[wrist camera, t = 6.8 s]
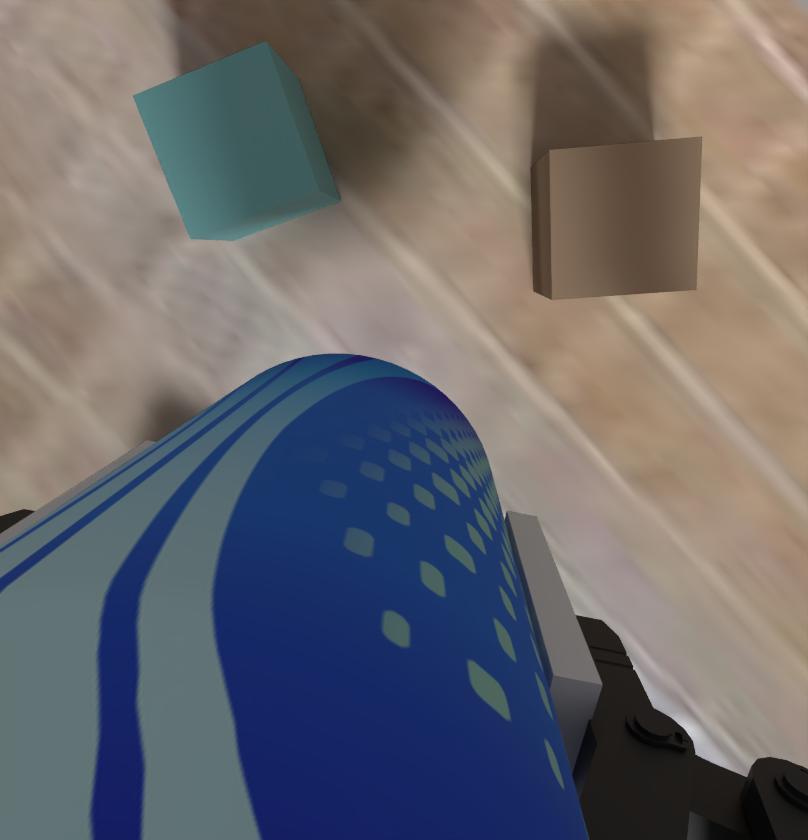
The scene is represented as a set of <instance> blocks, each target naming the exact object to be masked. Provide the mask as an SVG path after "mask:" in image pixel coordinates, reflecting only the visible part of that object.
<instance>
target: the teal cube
mask: <svg viewBox="0 0 808 840" xmlns="http://www.w3.org/2000/svg"><path fill="white" fill-rule="evenodd" d="M133 98H134V100H135V103H136V105H137V108H138V110H139V113H140V115H141V118H142V120H143V122H144V125H145V127H146V130H147V132H148V135H149V137H150V140H151V142H152V145H153V147H154V150H155V152H156V155H157V157H158V160H159V162H160V164H161V167H162V169H163V172H164V174H165V177H166V179H167V182H168V184H169V187H170V189H171V192H172V194H173V197H174V199H175V202H176V204H177V206H178V209H179V211H180V214H181V216H182V219H183V221H184V224H185V226H186V229H187V231H188V234H189V236H190V239H203V240H227V241H234V240H237V239H240V238H242V237H245V236H248V235H250V234H253V233H256V232H258V231H261V230H264V229H266V228H269V227H272V226H275V225H277V224H280V223H283V222H285V221H288V220H291V219H293V218H296V217H299V216H301V215H304V214H307V213H310V212H312V211H315V210H318V209H320V208H323V207H326V206H328V205H331V204H334V203H336V202H339V201H341V200H340V197H339V194H338V192H337V189H336V186H335V183H334V180H333V177H332V174H331V171H330V168H329V166H328V163H327V160H326V157H325V154H324V151H323V148H322V145H321V143H320V140H319V137H318V134H317V131H316V128H315V125H314V122H313V119H312V117H311V114H310V111H309V108H308V105H307V102H306V99H305V96H304V94H303V91H302V88H301V85H300V82H299V79H298V77H297V76H296V75H295V74H294V73H293V72H292V70H291V69H290V68H289V67H288V66H287V65H286V63H285V62H284V61H283V60H282V59H281V57H280V56H279V55H278V54H277V53H276V52H275V50H274V49H273V48H272V47H271V46H270V44H269V43H268V42H267V41H264V42H261V43H259V44H257V45H254V46H252V47H249V48H247V49H244V50H242V51H240V52H237V53H235V54H232V55H230V56H228V57H225V58H223V59H220V60H218V61H216V62H213V63H211V64H208V65H206V66H203V67H201V68H199V69H196V70H194V71H191V72H189V73H187V74H184V75H182V76H179V77H177V78H175V79H172V80H170V81H167V82H165V83H162V84H160V85H158V86H155V87H153V88H150V89H148V90H146V91H143V92H141V93H138V94H136V95H134V96H133Z"/></svg>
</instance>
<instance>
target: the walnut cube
mask: <svg viewBox="0 0 808 840" xmlns="http://www.w3.org/2000/svg"><path fill="white" fill-rule="evenodd" d="M701 154H702V137H692V138H680V139H669V140H657V141H646V142H635V143H623V144H612V145H600V146H589V147H577V148H566V149H554V150H549V151H548V152H547V153H546V154H545V155H544V156H543V157H542V158H541V159H539V160H538V161H537V162H536V163H535V164H534V165H533V166H532V167H531V203H532V246H533V288H534V292H536V293H538V294H540V295H543V296H545V297H547V298H549V299H551V300H557V299H571V298H585V297H600V296H614V295H628V294H643V293H657V292H671V291H686V290H696V286H697V259H698V233H699V207H700V181H701Z"/></svg>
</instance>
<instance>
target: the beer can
mask: <svg viewBox="0 0 808 840" xmlns="http://www.w3.org/2000/svg"><path fill="white" fill-rule="evenodd" d="M0 840H589V837H588V833H587V829H586V825H585V822H584V818H583V814H582V810H581V806H580V803H579V799H578V795H577V791H576V788H575V784H574V780H573V776H572V773H571V769H570V765H569V761H568V758H567V754H566V750H565V746H564V743H563V739H562V735H561V731H560V728H559V724H558V720H557V716H556V712H555V709H554V705H553V701H552V697H551V694H550V690H549V686H548V682H547V679H546V675H545V671H544V667H543V664H542V660H541V656H540V652H539V649H538V645H537V641H536V637H535V634H534V630H533V626H532V622H531V618H530V615H529V611H528V607H527V603H526V600H525V596H524V592H523V588H522V585H521V581H520V577H519V573H518V570H517V566H516V562H515V558H514V555H513V551H512V547H511V543H510V540H509V536H508V532H507V528H506V525H505V521H504V517H503V513H502V509H501V506H500V502H499V498H498V494H497V491H496V487H495V483H494V479H493V476H492V472H491V468H490V465H489V461H488V458H487V456H486V453H485V451H484V448H483V446H482V443H481V442H480V440H479V438H478V436H477V434H476V432H475V430H474V429H473V427H472V426H471V424H470V423H469V421H468V420H467V418H466V417H465V416H464V415H463V413H462V412H461V411H460V410H459V409H458V407H457V406H456V405H455V404H454V403H453V402H452V401H451V400H450V399H449V398H448V397H447V396H446V395H445V394H443V393H442V392H441V391H440V390H438V389H437V388H436V387H435V386H434V385H432V384H431V383H429V382H428V381H426V380H425V379H423V378H422V377H420V376H418V375H416V374H414V373H412V372H411V371H409V370H407V369H405V368H402V367H400V366H397V365H395V364H393V363H389V362H386V361H383V360H380V359H376V358H371V357H366V356H362V355H352V354H321V355H312V356H307V357H302V358H297V359H294V360H291V361H287V362H284V363H282V364H279V365H277V366H274V367H272V368H270V369H268V370H266V371H264V372H262V373H260V374H258V375H257V376H255V377H254V378H252V379H251V380H249V381H248V382H246V383H245V384H243V385H241V386H240V387H238V388H237V389H235V390H234V391H232V392H231V393H229V394H228V395H226V396H225V397H223V398H222V399H220V400H219V401H217V402H216V403H214V404H213V405H211V406H210V407H208V408H207V409H205V410H204V411H202V412H201V413H199V414H198V415H196V416H195V417H193V418H192V419H190V420H189V421H187V422H186V423H184V424H183V425H181V426H180V427H178V428H177V429H175V430H174V431H172V432H171V433H169V434H168V435H166V436H165V437H163V438H162V439H160V440H159V441H157V442H156V443H154V444H153V445H151V446H150V447H148V448H147V449H145V450H144V451H142V452H141V453H139V454H138V455H136V456H135V457H133V458H132V459H130V460H129V461H127V462H126V463H124V464H123V465H121V466H120V467H118V468H117V469H115V470H114V471H112V472H111V473H109V474H108V475H106V476H104V477H103V478H101V479H100V480H98V481H97V482H95V483H94V484H92V485H91V486H89V487H88V488H86V489H85V490H83V491H82V492H80V493H79V494H77V495H76V496H74V497H73V498H71V499H70V500H68V501H67V502H65V503H64V504H62V505H61V506H59V507H58V508H56V509H55V510H53V511H52V512H50V513H49V514H47V515H46V516H44V517H43V518H41V519H40V520H38V521H37V522H35V523H34V524H32V525H31V526H29V527H28V528H26V529H25V530H23V531H22V532H20V533H19V534H17V535H16V536H14V537H13V538H11V539H10V540H8V541H7V542H5V543H4V544H2V545H1V546H0Z"/></svg>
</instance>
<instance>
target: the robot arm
mask: <svg viewBox="0 0 808 840" xmlns="http://www.w3.org/2000/svg"><path fill="white" fill-rule="evenodd" d="M154 443H156V442H153V441H148V440H147V441H145V442H143V443H142V444H140V445H139V446H137V447H136V448H134V449H132V450H131V451H129V452H128V453H126V454H125V455H123V456H121V457H120V458H118V459H117V460H115V461H114V462H112V463H110V464H109V465H107V466H106V467H104V468H103V469H101V470H99V471H98V472H96V473H95V474H93V475H92V476H90V477H88V478H87V479H85V480H84V481H82V482H81V483H79V484H77V485H76V486H74V487H73V488H71V489H70V490H68V491H66V492H65V493H63V494H62V495H60V496H59V497H57V498H56V499H54V500H52V501H51V502H49V503H48V504H46V505H45V506H43V507H41V508H40V509H38V510H37V511H31V510H26V509H23V510H19V511H16V512H13V513H9V514H6V515H3V516H0V546H1V545H2V544H4V543H5V542H7V541H8V540H10V539H11V538H13V537H14V536H16V535H17V534H19V533H20V532H22V531H23V530H25V529H26V528H28V527H29V526H31V525H32V524H34V523H35V522H37V521H38V520H40V519H41V518H43V517H44V516H46V515H47V514H49V513H50V512H52V511H53V510H55V509H56V508H58V507H59V506H61V505H62V504H64V503H65V502H67V501H68V500H70V499H71V498H73V497H74V496H76V495H77V494H79V493H80V492H82V491H83V490H85V489H86V488H88V487H89V486H91V485H92V484H94V483H95V482H97V481H98V480H100V479H101V478H103V477H104V476H106V475H108V474H109V473H111V472H112V471H114V470H115V469H117V468H118V467H120V466H121V465H123V464H124V463H126V462H127V461H129V460H130V459H132V458H133V457H135V456H136V455H138V454H139V453H141V452H142V451H144V450H145V449H147V448H148V447H150V446H151V445H153V444H154ZM505 525H506V528H507V532H508V536H509V540H510V543H511V547H512V551H513V555H514V558H515V562H516V566H517V570H518V573H519V577H520V581H521V585H522V588H523V592H524V596H525V600H526V603H527V607H528V611H529V615H530V618H531V622H532V626H533V630H534V634H535V637H536V641H537V645H538V649H539V652H540V656H541V660H542V664H543V667H544V671H545V675H546V679H547V682H548V686H549V690H550V694H551V697H552V701H553V705H554V709H555V712H556V716H557V720H558V724H559V728H560V731H561V735H562V739H563V743H564V746H565V750H566V754H567V758H568V761H569V765H570V769H571V773H572V776H573V780H574V784H575V788H576V791H577V795H578V799H579V803H580V806H581V810H582V814H583V818H584V822H585V825H586V829H587V833H588V837H589V840H808V769H807V768H805V767H803V766H800V765H797V764H794V763H792V762H789V761H787V760H783V759H778V758H772V757H766V758H760V759H757V760H756V761H755V763H754V764H753V765H752V766H751V769H750V771H749V774H748V777H745V776H742V775H740V774H738V773H735V772H733V771H730V770H728V769H725V768H723V767H721V766H718V765H716V764H713V763H711V762H709V761H707V760H705V759H703V758H701V757H699V756H697V755H695V748H694V744H693V741H692V739H691V738H690V736H689V735H688V734H687V732H686V731H685V729H684V728H683V727H681V726H680V725H679V724H678V723H677V722H675V721H674V720H673V719H672V718H671V717H669V716H667V715H665V714H664V713H662V712H660V711H658V710H656V709H654V708H653V706H652V704H651V702H650V700H649V698H648V696H647V694H646V692H645V690H644V688H643V686H642V683H641V681H640V679H639V677H638V675H637V673H636V671H635V670H633V665H632V663H631V661H630V659H629V657H628V656H626V654H627V653H626V650H625V648H624V646H623V644H622V642H621V640H620V638H619V636H618V635H617V634H616V633H615V632H614V631H613V630H612V629H610V628H609V627H608V626H607V625H606V624H605V623H604V622H603V621H602V620H598V619H593V618H588V617H583V616H578V615H575V613H574V610H573V608H572V605H571V603H570V600H569V598H568V595H567V592H566V590H565V587H564V585H563V582H562V580H561V577H560V575H559V572H558V570H557V567H556V564H555V562H554V559H553V557H552V554H551V552H550V549H549V547H548V544H547V542H546V539H545V536H544V534H543V531H542V529H541V526H540V524H539V521H538V519H537V517H536V516H531V515H526V514H521V513H516V512H511V511H507V513H506V517H505Z"/></svg>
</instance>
